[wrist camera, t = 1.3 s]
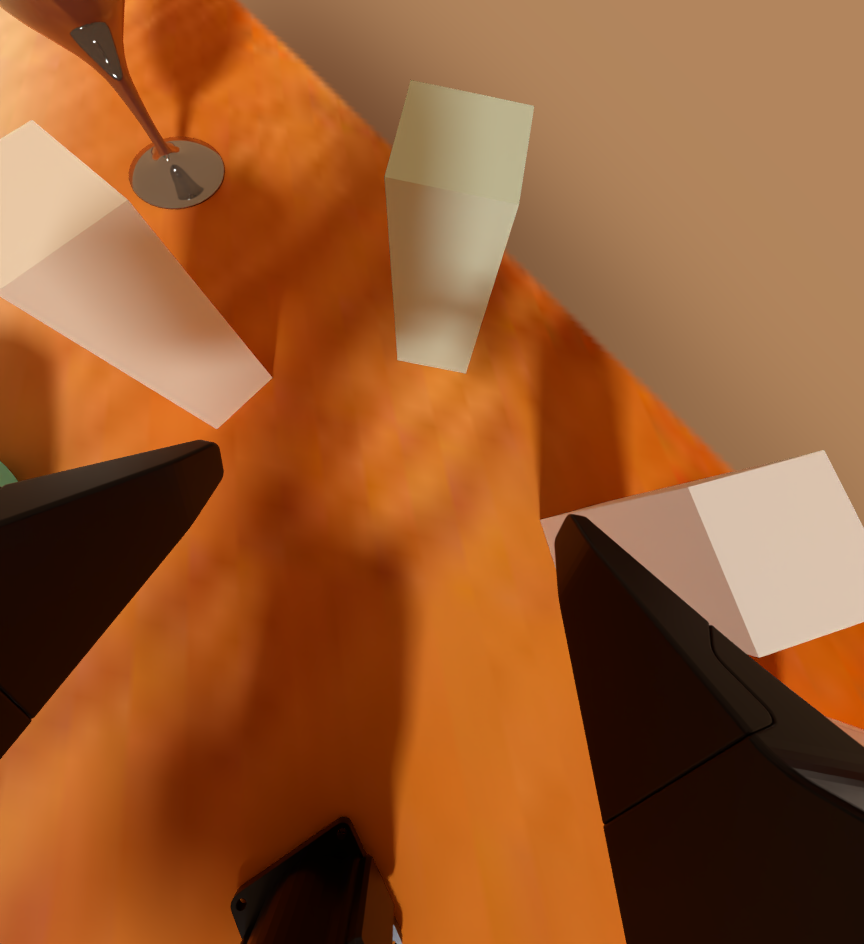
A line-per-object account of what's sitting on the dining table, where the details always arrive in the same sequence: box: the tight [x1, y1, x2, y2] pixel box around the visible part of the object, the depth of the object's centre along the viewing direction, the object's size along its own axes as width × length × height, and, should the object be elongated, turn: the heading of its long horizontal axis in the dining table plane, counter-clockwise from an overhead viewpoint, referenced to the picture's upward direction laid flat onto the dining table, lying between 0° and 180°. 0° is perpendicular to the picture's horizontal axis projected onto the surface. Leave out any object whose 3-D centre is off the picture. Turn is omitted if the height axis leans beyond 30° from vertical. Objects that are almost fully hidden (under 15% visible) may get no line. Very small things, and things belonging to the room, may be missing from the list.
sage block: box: [384, 80, 534, 373], centre depth 19 cm, size 5×5×12 cm
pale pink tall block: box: [540, 450, 864, 658], centre depth 17 cm, size 5×5×12 cm
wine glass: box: [0, 0, 225, 209], centre depth 20 cm, size 8×8×15 cm
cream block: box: [0, 120, 272, 429], centre depth 17 cm, size 5×5×12 cm
